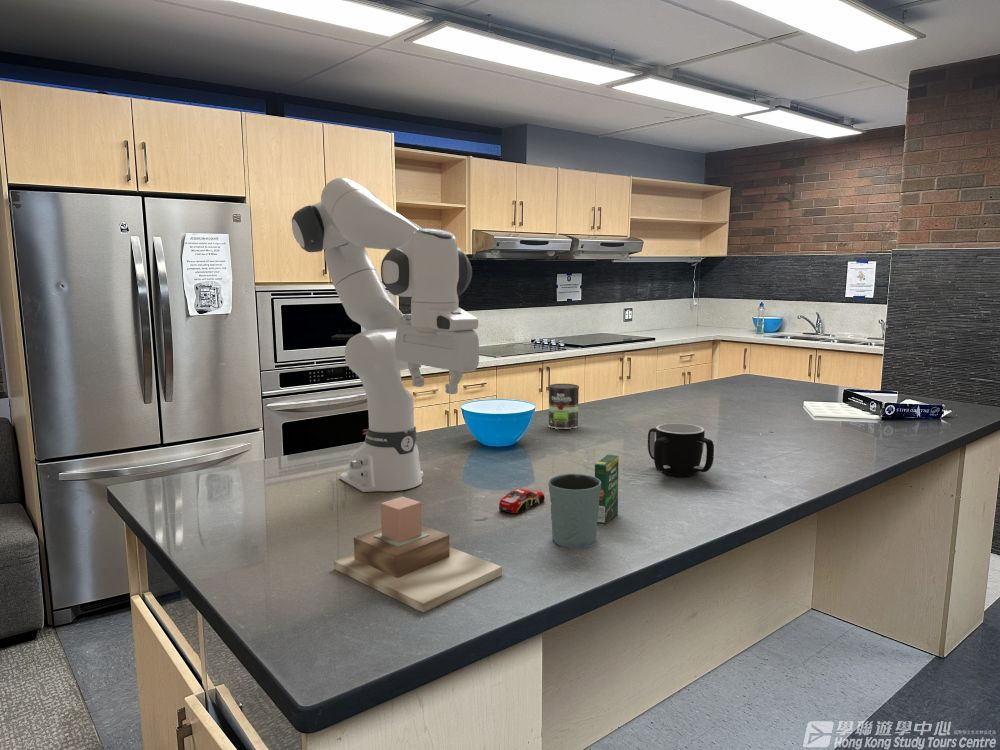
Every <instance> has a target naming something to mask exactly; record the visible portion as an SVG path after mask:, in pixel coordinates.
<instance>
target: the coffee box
mask: <svg viewBox="0 0 1000 750" xmlns="http://www.w3.org/2000/svg"><path fill="white" fill-rule="evenodd" d="M619 460H620V459H619V455H615V454H606V455H604V457H602V458H601V459H600V460H599V461H597V462H596V463H595V464H594V477H596V478H598V479H599V480H600V481H601V490H600V496H599V507H598V508H599V512H598V520H597V524H598V525H603V526H607V524H608V523H609V522H611V521H612V519H613V518H615V517H616V516H617V515H618V514H619V462H620V461H619Z"/></svg>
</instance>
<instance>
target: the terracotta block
mask: <svg viewBox="0 0 1000 750" xmlns="http://www.w3.org/2000/svg"><path fill="white" fill-rule="evenodd" d="M421 504H422V503H421V501H419V500H414V499H412V498H409V497H406V496H399V497H396V498H393V499H390V500H387V501H383V502H381V503H380V518H381V519H380V521H381V522H380V523H381V525H380V526H381V527H380V528H382V536H384V537H387V538H389V539H392V540H394V541H397V542H399V543H400V542H403V541H406V540H408V539H411V538H414V537H417V536H419V535H422V532H421V525H422V505H421Z"/></svg>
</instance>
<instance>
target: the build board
mask: <svg viewBox="0 0 1000 750" xmlns="http://www.w3.org/2000/svg"><path fill="white" fill-rule="evenodd" d="M421 532H422V535H419V536H417V537H414V538H411V539H408V540H406V541H403V542H400V543H399V542H397V541H394V540H392V539H389V538H387V537H384V536H382V527H380V528H377V529H373V531H368V532H366V533H362V534H360V535H357V536H354V537H353V550H354V551H353V552H354V553H352V554H348V555H346V556H343V557H341V558H338V559H336V560H333V569H334V570H336V571H337V572H340V573H342V574H344V575H346V576H348V577H350V578H352V579H354V580H355V581H358V582H360V583H362V584H364V585H366V586H368V587H369V588H370V587H371V588H372V589H375V590H376V591H379V592H380V593H383V594H384V595H387V596H389V597H390V598H392V599H395V600H397V601H398V602H400V603H403V604H404V605H407V606H409V607H412V609H415V610H417V611H419V612H421V613H422V614H423V613H425V612H429V611H430V610H432V609H435V608H437V607H438V606H440V605H442V604H444V603H447V602H448V601H451V600H452V599H453V600H454V599H455V598H458V597H459V596H461V595H463V594H465V593H467V592H469V591H472V590H474V589H476V588H478V587H480V586H482V585H484V584H486V583H488V582H490V581H492V580H495V579H497V578H499V577H500V576H502V575H503V566H501V565H498V564H495V563H493V562H491V561H488V560H485V559H483V558H481V557H477V556H474V555H471V554H470V553H467V552H464V551H462V550H459V549H457V548H454V547H451V546H450V535H449V534H447V533H444V532H441V531H438V530H436V529H433V528H431V527H428V526H425V525H422V524H421Z"/></svg>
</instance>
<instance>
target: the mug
mask: <svg viewBox="0 0 1000 750" xmlns="http://www.w3.org/2000/svg"><path fill="white" fill-rule="evenodd" d="M705 431H706V430H705V428H704V427H702V426H700V425H697V424H691V423H681V422H680V423H679V422H677V423H676V422H671V423H670V422H669V423H661V424H658V425H657V426H656V427H652V428H650V429H649V430H648V433H647V450H648V455H649V456H650V458H651V459H652V460H653V461H654V467H655V468H656V470H657V471H659V472H662V474H665V475H668V476H671V477H672V476H673V477H682V478H683V477H692V476H695V475H696V474H697V473H698V472H700V473H707V472H708V471H709V470H711V468H712V466H713V463H714V458H715V444H714V441H712V440H711V439H710V438H706V437H705ZM704 444H705V445H706V455H705V464H704V466H700V465H701V462H702V455H703V454H704V453H703V452H704Z"/></svg>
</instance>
